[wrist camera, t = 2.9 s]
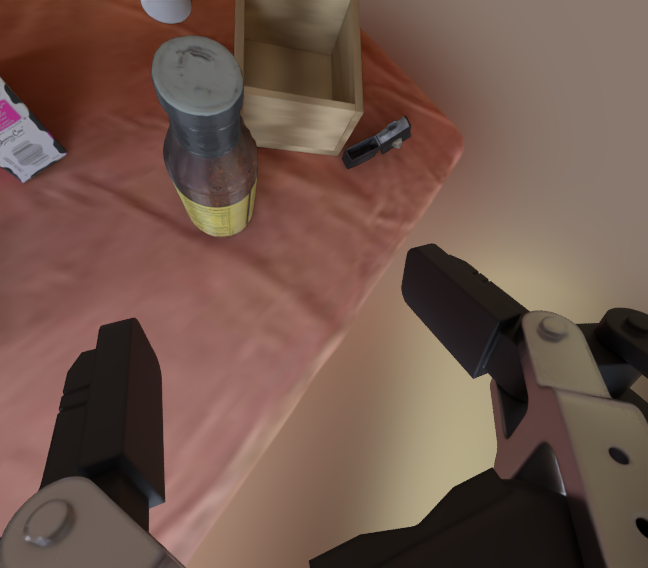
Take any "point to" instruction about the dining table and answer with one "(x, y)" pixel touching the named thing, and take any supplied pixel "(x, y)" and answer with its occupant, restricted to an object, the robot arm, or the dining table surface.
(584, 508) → the robot arm
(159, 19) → the chalice
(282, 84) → the caddy
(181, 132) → the sauce bottle
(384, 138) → the lighter
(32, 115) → the candy bar box
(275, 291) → the dining table surface
